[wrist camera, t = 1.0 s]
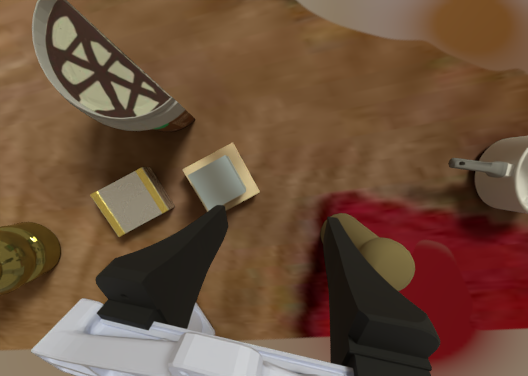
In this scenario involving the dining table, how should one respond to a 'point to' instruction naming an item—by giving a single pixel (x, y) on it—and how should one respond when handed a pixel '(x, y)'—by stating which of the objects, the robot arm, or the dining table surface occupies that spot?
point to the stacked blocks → (221, 179)
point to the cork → (379, 252)
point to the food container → (99, 73)
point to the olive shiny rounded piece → (25, 254)
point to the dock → (132, 200)
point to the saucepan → (501, 174)
